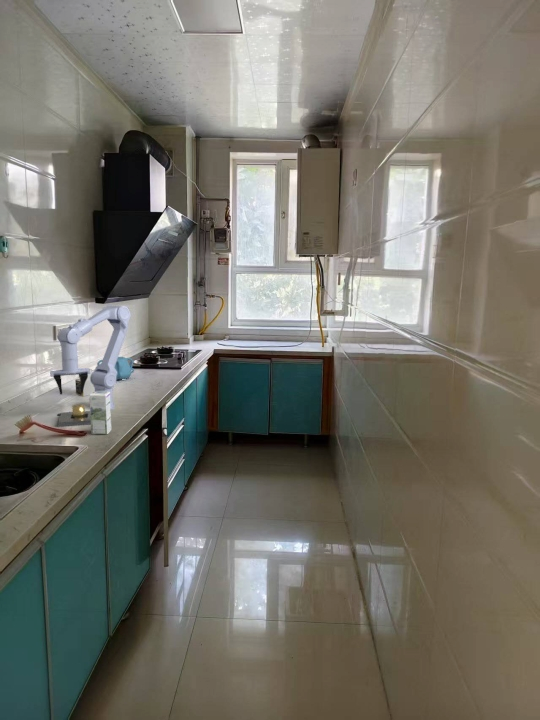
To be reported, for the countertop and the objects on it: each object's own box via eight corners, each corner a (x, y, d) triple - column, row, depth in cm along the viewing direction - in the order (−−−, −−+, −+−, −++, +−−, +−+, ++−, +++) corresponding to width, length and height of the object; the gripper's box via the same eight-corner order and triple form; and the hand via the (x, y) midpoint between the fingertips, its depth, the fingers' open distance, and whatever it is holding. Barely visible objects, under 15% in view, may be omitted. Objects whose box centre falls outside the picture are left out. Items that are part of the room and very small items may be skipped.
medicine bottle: (75, 394, 240) (74, 369, 238) (89, 391, 245) (88, 367, 243) (83, 396, 235) (81, 371, 233) (97, 394, 240) (96, 369, 238)
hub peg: (70, 421, 195) (69, 406, 194) (80, 418, 199) (80, 403, 198) (77, 423, 193) (76, 407, 192) (87, 420, 196) (87, 405, 195)
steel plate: (61, 417, 200) (61, 412, 200) (99, 415, 204) (99, 410, 204) (58, 427, 187) (58, 422, 186) (98, 424, 191) (98, 419, 191)
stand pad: (57, 413, 205) (57, 413, 205) (73, 412, 207) (73, 412, 207) (56, 417, 200) (56, 416, 200) (72, 416, 202) (72, 415, 202)
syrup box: (111, 430, 185) (110, 390, 183) (107, 434, 179) (105, 394, 177) (95, 429, 185) (94, 390, 182) (90, 434, 179) (89, 394, 177)
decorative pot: (112, 375, 285) (111, 351, 283) (137, 377, 280) (136, 353, 278) (94, 381, 270) (92, 355, 268) (119, 383, 265) (118, 357, 263)
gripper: (87, 356, 205) (89, 389, 207) (48, 358, 199) (50, 392, 201) (90, 359, 199) (92, 392, 201) (50, 361, 192) (52, 396, 195)
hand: (71, 393), depth 201 cm, fingers open, 7 cm apart
